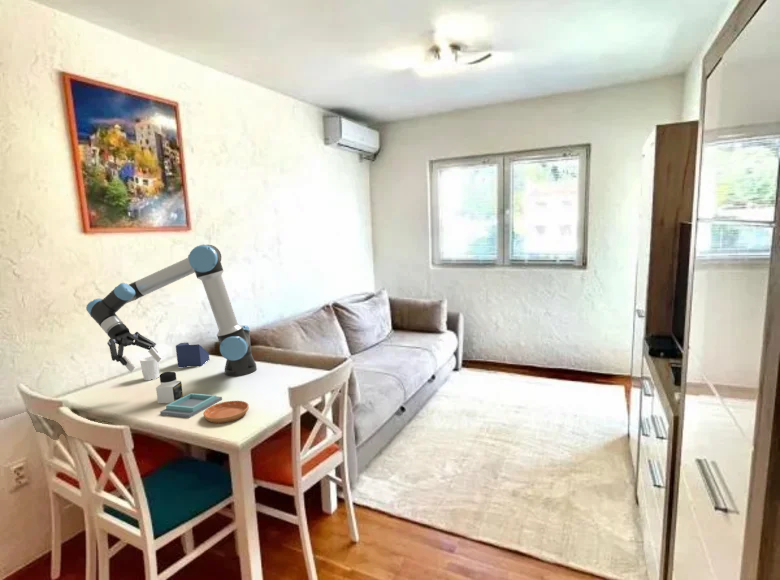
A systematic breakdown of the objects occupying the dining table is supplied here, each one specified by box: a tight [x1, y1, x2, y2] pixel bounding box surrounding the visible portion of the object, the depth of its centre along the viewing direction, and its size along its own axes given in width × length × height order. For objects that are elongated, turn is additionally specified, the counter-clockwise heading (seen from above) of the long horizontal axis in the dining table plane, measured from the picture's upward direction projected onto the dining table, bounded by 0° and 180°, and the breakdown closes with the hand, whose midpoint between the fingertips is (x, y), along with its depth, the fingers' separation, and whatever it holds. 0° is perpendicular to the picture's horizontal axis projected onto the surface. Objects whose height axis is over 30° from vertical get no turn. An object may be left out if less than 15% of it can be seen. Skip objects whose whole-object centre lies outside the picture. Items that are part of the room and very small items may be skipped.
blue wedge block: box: [175, 342, 210, 368], centre depth 233 cm, size 12×12×12 cm
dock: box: [159, 392, 223, 418], centre depth 173 cm, size 18×14×3 cm
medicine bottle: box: [155, 370, 184, 404], centre depth 181 cm, size 7×7×12 cm
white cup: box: [139, 355, 160, 381], centre depth 212 cm, size 8×8×10 cm
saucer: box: [202, 400, 249, 424], centre depth 162 cm, size 16×16×3 cm
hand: (146, 364), depth 183 cm, fingers open, 13 cm apart
